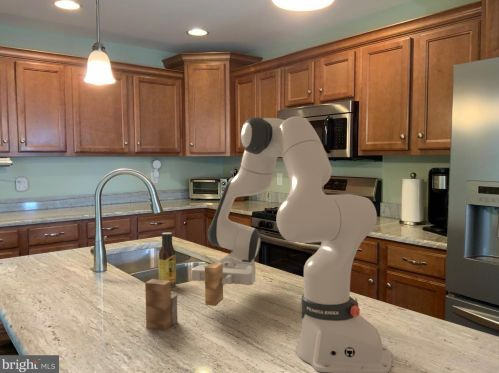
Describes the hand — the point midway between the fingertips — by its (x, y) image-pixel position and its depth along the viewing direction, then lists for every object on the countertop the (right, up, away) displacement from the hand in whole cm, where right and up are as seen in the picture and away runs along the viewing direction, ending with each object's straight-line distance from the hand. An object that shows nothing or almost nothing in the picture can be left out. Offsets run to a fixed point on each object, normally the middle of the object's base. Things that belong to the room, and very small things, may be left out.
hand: (214, 281), depth 117 cm
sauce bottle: (-20, -9, +31) cm, 39 cm away
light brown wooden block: (0, -6, 0) cm, 6 cm away
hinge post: (-15, -12, -3) cm, 19 cm away
